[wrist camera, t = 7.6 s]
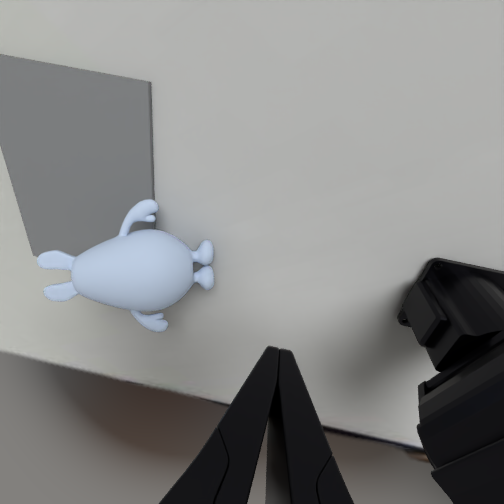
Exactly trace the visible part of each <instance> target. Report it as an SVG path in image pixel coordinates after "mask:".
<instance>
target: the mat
mask: <svg viewBox="0 0 504 504" xmlns="http://www.w3.org/2000/svg"><path fill="white" fill-rule="evenodd" d="M0 146H1V149H2V153H3V156H4V159H5V163H6V166H7V169H8V173H9V176H10V179H11V183H12V186H13V189H14V193H15V196H16V199H17V203H18V206H19V210H20V213H21V216H22V220H23V223H24V226H25V230H26V233H27V236H28V240H29V243H30V246H31V250H32V253H33V256H39V255H40V254H42V253H44V252H48V251H52V250H59V251H62V252H65V253H67V254H70V255H72V256H75V257H76V256H78V255H80V254H81V253H83V252H85V251H86V250H88V249H90V248H92V247H94V246H96V245H98V244H100V243H102V242H105V241H107V240H109V239H112V238H114V237H116V236H118V235H119V232H120V229H121V226H122V224H123V221H124V219H125V217H126V215H127V214H128V212H129V211H130V210H131V209H132V208H133V207H134V206H135V205H136V204H137V203H139V202H140V201H143V200H147V199H151V200H154V167H153V133H152V99H151V82H148V81H143V80H137V79H132V78H127V77H121V76H116V75H110V74H105V73H100V72H94V71H89V70H83V69H78V68H72V67H67V66H62V65H56V64H51V63H45V62H40V61H34V60H29V59H24V58H18V57H13V56H7V55H2V54H0ZM150 215H154V216H155V213H153V214H150ZM146 229H155V221H154V222H143V221H137V222H134V223H133V224H132V225H131V227H130V230H129V233H130V232H134V231H139V230H146Z"/></svg>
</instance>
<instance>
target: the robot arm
mask: <svg viewBox="0 0 504 504" xmlns="http://www.w3.org/2000/svg"><path fill="white" fill-rule="evenodd" d="M436 264H439V265H438V266H435V265H436ZM402 307H403V308H402V310H401V312H400V313H399V315H398V317H397V319H398V321H399V323H400V324H401V325H403V326H408V327H412V329H413V331H414V334H415V336H416V338H417V340H418V342H419V344H420V345H421V346H423V347H425V348H426V350H427V352H428V354H429V357H430V359H431V361H432V363H433V365H434V367H435V369H436V371H439V372H440V373H439V374H437V375H436V376H434V377H433V378H431V379H430V380H428V381H427V382H426V381H424V382H422V383H421V384H419V385H418V397H419V406H418V408H419V418H420V423H419V424H418V425H417V432H418V435H419V437H420V440H421V443H422V445H423V448H424V451H425V453H426V455H427V457H428V460H429V461H430V463H431V465H432V466H433V468H434V470H433V471H431V475H432V477H433V479H434V480H435V481H436V482H437V483H438V484H439V486H440V487H441V488H442V489H443V491H444V492H445V493H446V494H447V495H448V496H449V497H450V499H451V500H452V502H453V504H504V271H499V270H494V269H490V268H485V267H480V266H475V265H471V264H466V263H461V262H456V261H452V260H447V259H442V258H434V259H432V260H431V261H430V262H429V263H428V265H427V267H426V268H425V270H424V272H423V274H422V275H421V277H420V279H419V280H418V281H417V282H416V283H415V284H414V286H413V288H412V290H411V291H410V293H409V295H408V297H407V298H406V300H405V302H404V304H403V306H402ZM403 319H406V320H403ZM267 421H268V432H267V433H268V434H267V467H266V468H267V469H266V470H267V471H266V502H265V504H354V503H353V500H352V498H351V496H350V494H349V492H348V490H347V487H346V485H345V482H344V480H343V478H342V475H341V473H340V471H339V468H338V466H337V463H336V461H335V458H334V456H332V451H331V448H330V446H329V443H328V441H327V438H326V436H325V433H324V431H323V428H322V426H321V423H320V421H319V418H318V416H317V413H316V411H315V408H314V406H313V403H312V400H311V398H310V395H309V393H308V390H307V388H306V385H305V383H304V380H303V378H302V375H301V373H300V370H299V368H298V365H297V363H296V360H295V358H294V355H293V353H292V351H290V350H286V349H280V350H279V348H277V347H273V346H267V348H266V349H265V351H264V352H263V354H262V356H261V357H260V359H259V360H258V362H257V363H256V365H255V367H254V368H253V370H252V371H251V373H250V374H249V376H248V378H247V379H246V381H245V382H244V384H243V386H242V387H241V389H240V390H239V392H238V393H237V395H236V397H235V398H234V400H233V401H232V403H231V405H230V406H229V408H228V409H227V411H226V412H225V414H224V416H223V417H222V419H221V420H220V422H219V424H218V425H217V427H216V428H215V430H214V431H213V433H212V434H211V436H210V438H209V439H208V440H207V442H206V443H205V445H204V446H203V448H202V449H201V451H200V452H199V454H198V455H197V456H196V458H195V459H194V460H193V462H192V463H191V464H190V466H189V467H188V468H187V469H186V471H185V472H184V473H183V475H182V476H181V477H180V478H179V479H178V481H177V482H176V483H175V484H174V485H173V487H172V488H171V489H170V490H169V492H168V493H167V494H166V495H165V497H164V498H163V499H162V500H161V501H160V503H159V504H247V502H248V498H249V494H250V490H251V486H252V482H253V478H254V474H255V470H256V465H257V461H258V458H259V454H260V449H261V446H262V442H263V437H264V433H265V429H266V425H267Z"/></svg>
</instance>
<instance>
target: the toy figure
mask: <svg viewBox="0 0 504 504" xmlns="http://www.w3.org/2000/svg"><path fill="white" fill-rule="evenodd" d="M158 210H159V206H158V204H157V203H156V202H155V201H154V200H151V199H147V200H143V201H140V202H139V203H137V204H136V205H135V206H134V207H133V208H132V209H131V210H130V211H129V212H128V214H127V215H126V217H125V219H124V221H123V224H122V226H121V229H120V232H119V235H118V236H116V237H114V238H112V239H109V240H107V241H105V242H102V243H100V244H98V245H96V246H94V247H92V248H90V249H88V250H86V251H85V252H83V253H81V254H80V255H78V256H76V257H75V256H72V255H70V254H67V253H65V252H62V251H59V250H52V251H48V252H44V253H42V254H40V255H39V256H38V258H37V264H38V265H39V266H40V267H41V268H44V269H62V270H70V271H71V279H72V281H69V282H65V283H60V284H53V285H49V286H47V287H46V288H45V289H44V291H43V292H44V295H45V296H46V297H47V298H48V299H49V300H52V301H67V300H69V299H71V298H72V297H74V296H76V295H77V294H80V295H82V296H84V297H86V298H89V299H91V300H94V301H97V302H100V303H103V304H106V305H110V306H113V307H118V308H122V309H128V310H130V312H131V313H132V315H133V316H134V317H135V319H136V320H137V321H138V322H139V323H140V324H141V325H142V326H144V327H145V328H147V329H149V330H151V331H154V332H163V331H165V330H166V329H167V327H168V322H167V321H166V320H162V319H163V317H164V314H163V313H156V314H150V315H144V314H142V313H141V312H140V311H157V310H161V309H164V308H167V307H169V306H171V305H173V304H174V303H176V302H177V301H178V300H180V299H181V298H182V297H183V296H184V295H185V294H186V293H187V292H188V290H189V289H190V288H191V286H192V285H193V283H196V282H197V283H199V284H200V285H201V286H202V287H203V288H204V289H205V290H209V289H211V288H212V287H213V286H214V273H213V270H212V268H211V267H210V266H209V264H210V263H211V262H212V260H213V255H214V250H213V245H212V243H211V241H209V240H204V241H203V242H202V243H201V244H200V246H199V248H198V249H197V250H196V251H192V250H190V248H189V247H188V246H187V245H186V244H185V243H183V242H182V241H181V240H180V239H178V238H177V237H175V236H173V235H172V234H169V233H167V232H165V231H161V230H155V229H146V230H139V231H134V232H130V233H129V230H130V227H131V225H132V224H133V223H134V222H137V221H143V222H154V221H155V220H156V218H155V216H154V215H150V214H153V213H155V212H157V211H158ZM193 262H198V263H200V264H202V265H205V266H203V267H202V268H201V269H200V270H199V271H197V272H193Z"/></svg>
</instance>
